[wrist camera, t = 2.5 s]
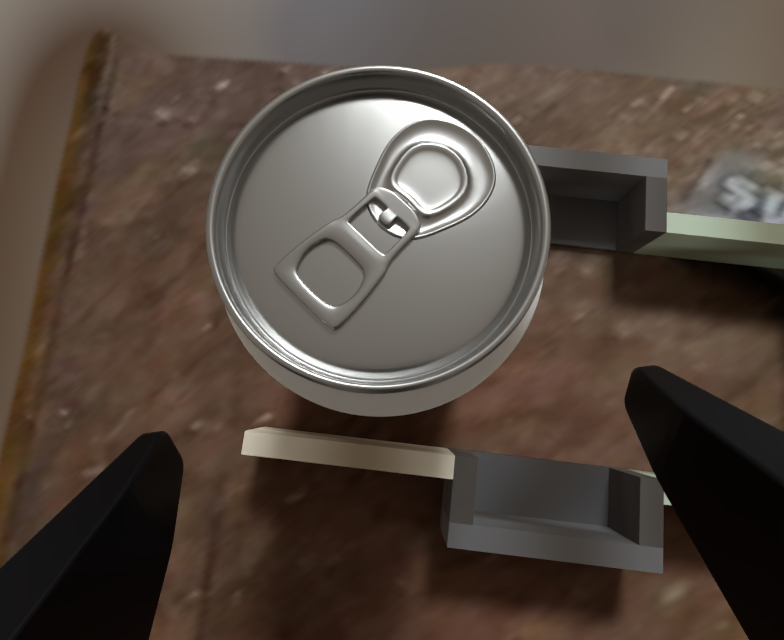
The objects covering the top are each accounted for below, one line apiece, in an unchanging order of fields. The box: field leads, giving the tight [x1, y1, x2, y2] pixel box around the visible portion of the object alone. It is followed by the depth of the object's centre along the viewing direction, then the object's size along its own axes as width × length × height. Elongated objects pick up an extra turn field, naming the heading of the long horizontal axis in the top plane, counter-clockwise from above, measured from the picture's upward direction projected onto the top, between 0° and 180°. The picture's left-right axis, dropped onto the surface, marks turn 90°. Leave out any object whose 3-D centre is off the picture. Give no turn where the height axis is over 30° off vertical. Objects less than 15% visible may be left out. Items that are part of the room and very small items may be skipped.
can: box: [206, 65, 551, 417], centre depth 13 cm, size 6×6×12 cm
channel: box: [241, 145, 784, 574], centre depth 18 cm, size 22×15×2 cm
